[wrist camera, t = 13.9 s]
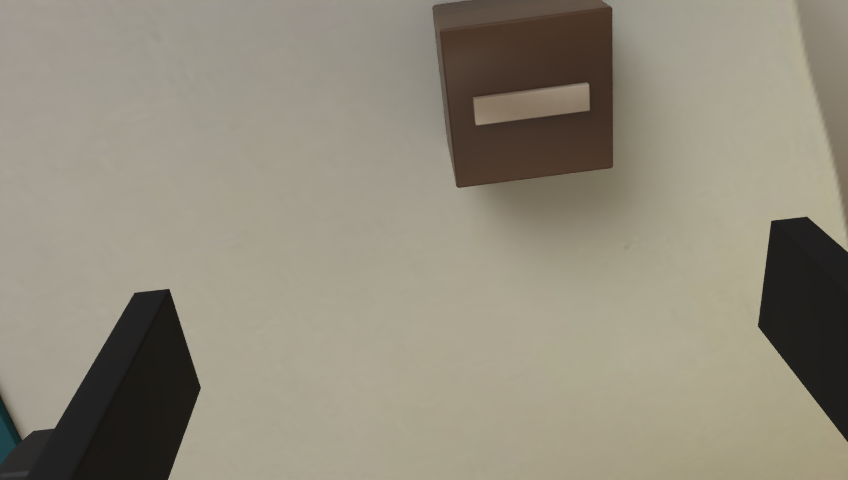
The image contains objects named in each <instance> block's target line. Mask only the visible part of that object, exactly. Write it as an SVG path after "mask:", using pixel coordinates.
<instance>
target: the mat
mask: <svg viewBox="0 0 848 480" xmlns="http://www.w3.org/2000/svg"><path fill="white" fill-rule="evenodd" d="M19 443H21V440H20V438H19V436H18V434H17V431H16V429H15V427H14V425H13V423H12V421H11V419H10V417H9V415H8V413H7V411H6V409H5V407H4V405H3V403H2V401H1V399H0V466H1V465H2V463H3V462H4V460H5V459H6V457H7V455H8V454H9V452H10V451H12V450H13V449H14V448H15V447H16V446H17V445H18V444H19Z"/></svg>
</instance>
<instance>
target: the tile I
mask: <svg viewBox="0 0 848 480" xmlns="http://www.w3.org/2000/svg"><path fill="white" fill-rule="evenodd" d="M432 9H433V18H434V26H435V35H436V44H437V53H438V62H439V70H440V79H441V88H442V97H443V105H444V114H445V123H446V132H447V141H448V147H449V152H450V157H451V162H452V167H453V172H454V177H455V181H456V186H457V187H458V188H460V187H468V186H475V185H483V184H491V183H499V182H506V181H514V180H522V179H530V178H537V177H545V176H553V175H561V174H568V173H576V172H584V171H592V170H599V169H607V168H612V167H613V70H612V7H611V6H609V5H608V4H606V3H605V2H603V1H601V0H470V1H462V2H455V3H447V4H440V5H434V6H433V8H432Z"/></svg>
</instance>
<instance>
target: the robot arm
mask: <svg viewBox="0 0 848 480" xmlns="http://www.w3.org/2000/svg"><path fill="white" fill-rule="evenodd" d="M758 327H759V328H760V330H761V331H762V332H763V333H764V335H765V336H766V337H767V339H768V340H769V341H770V342H771V344H772V345H773V346H774V348H775V349H776V350H777V351H778V353H779V354H780V355H781V357H782V358H783V359H784V360H785V362H786V363H787V364H788V366H789V367H790V368H791V369H792V371H793V372H794V373H795V375H796V376H797V377H798V378H799V380H800V381H801V382H802V384H803V385H804V386H805V387H806V389H807V390H808V391H809V393H810V394H811V395H812V397H813V398H814V399H815V400H816V402H817V403H818V404H819V406H820V407H821V408H822V409H823V411H824V412H825V413H826V415H827V416H828V417H829V418H830V420H831V421H832V422H833V424H834V425H835V426H836V427H837V429H838V430H839V431H840V433H841V434H842V435H843V436H844V438H845V439H846V440H847V442H848V252H847V251H846V250H845V249H843V248H842V247H841V246H840V245H839V244H838V243H836V242H835V241H834V240H833V239H832V238H831V237H830V236H828V235H827V234H826V233H825V232H824V231H823V230H822V229H820V228H819V227H818V226H817V225H816V224H815V223H814V222H812V221H811V220H810V219H809V218H808V217H801V218H792V219H784V220H775V221H771V228H770V236H769V244H768V252H767V260H766V268H765V276H764V284H763V291H762V299H761V307H760V315H759V323H758ZM200 389H201V387H200V384H199V381H198V378H197V375H196V371H195V368H194V365H193V362H192V359H191V356H190V353H189V349H188V346H187V343H186V340H185V337H184V334H183V331H182V327H181V324H180V321H179V318H178V315H177V312H176V309H175V305H174V302H173V299H172V296H171V293H170V290H169V289H165V290H156V291H147V292H138V293H134V295H133V297H132V298H131V300H130V302H129V303H128V305H127V307H126V308H125V310H124V312H123V314H122V315H121V317H120V319H119V320H118V322H117V324H116V325H115V327H114V329H113V331H112V332H111V334H110V336H109V337H108V339H107V341H106V342H105V344H104V346H103V348H102V349H101V351H100V353H99V354H98V356H97V358H96V359H95V361H94V363H93V364H92V366H91V368H90V370H89V371H88V373H87V375H86V376H85V378H84V380H83V381H82V383H81V385H80V387H79V388H78V390H77V392H76V393H75V395H74V397H73V398H72V400H71V402H70V404H69V405H68V407H67V409H66V410H65V412H64V414H63V415H62V417H61V419H60V420H59V422H58V424H57V426H56V427H55V429H47V430H38V431H33V432H32V433H31V434H30V435H28V436H27V437H26V438H25V439H24V440H23V441H22V442H21V443H19V444H18V445H17V446H16V447H15V448H14V449H13V450H12V451H10V452H9V454H8V455H7V457H6V459H5V460H4V462H3V463H2V465H1V466H0V480H168V478H169V475H170V472H171V469H172V467H173V464H174V461H175V458H176V456H177V453H178V450H179V447H180V444H181V442H182V439H183V436H184V433H185V431H186V428H187V425H188V422H189V419H190V417H191V414H192V411H193V408H194V406H195V403H196V400H197V397H198V394H199V392H200Z"/></svg>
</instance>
